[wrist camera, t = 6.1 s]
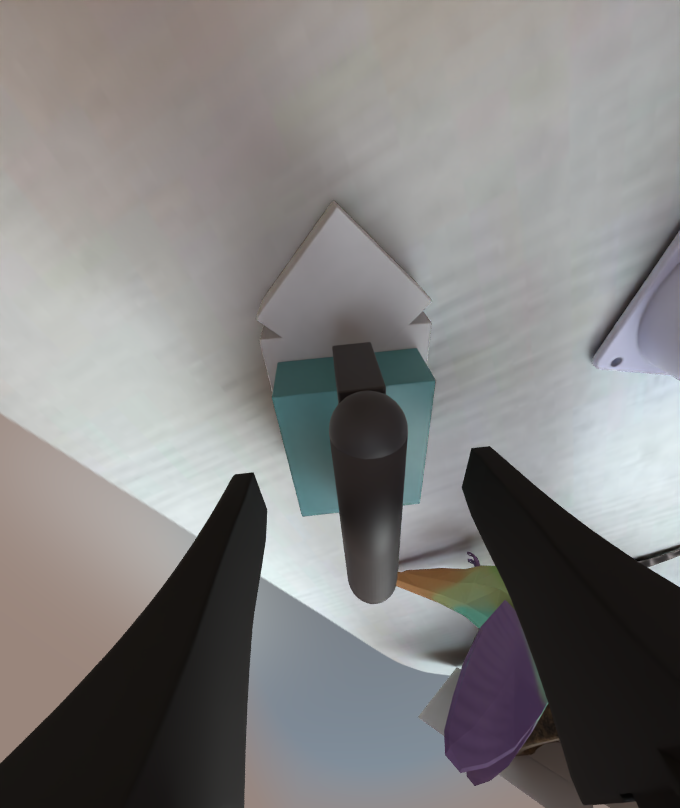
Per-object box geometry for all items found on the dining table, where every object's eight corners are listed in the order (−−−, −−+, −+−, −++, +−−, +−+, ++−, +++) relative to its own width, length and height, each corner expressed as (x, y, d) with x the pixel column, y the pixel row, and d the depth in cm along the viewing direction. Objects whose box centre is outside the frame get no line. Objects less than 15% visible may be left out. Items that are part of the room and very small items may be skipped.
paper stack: (739, 945, 23) (739, 933, 23) (417, 717, 39) (418, 711, 39) (677, 743, 41) (678, 737, 41) (474, 644, 57) (475, 639, 57)
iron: (407, 450, 19) (461, 613, 12) (297, 462, 19) (290, 633, 12) (426, 191, 11) (613, 239, 4) (239, 209, 11) (125, 287, 4)
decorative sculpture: (578, 568, 31) (745, 821, 19) (393, 607, 33) (441, 855, 21) (619, 454, 21) (1029, 839, 9) (349, 520, 23) (392, 901, 11)
